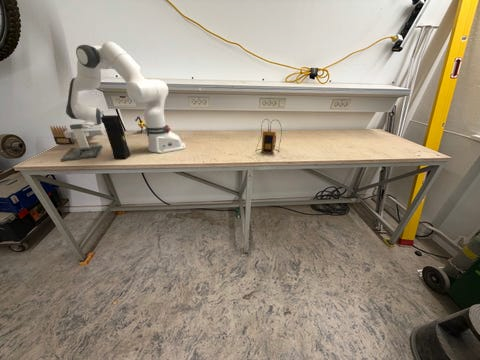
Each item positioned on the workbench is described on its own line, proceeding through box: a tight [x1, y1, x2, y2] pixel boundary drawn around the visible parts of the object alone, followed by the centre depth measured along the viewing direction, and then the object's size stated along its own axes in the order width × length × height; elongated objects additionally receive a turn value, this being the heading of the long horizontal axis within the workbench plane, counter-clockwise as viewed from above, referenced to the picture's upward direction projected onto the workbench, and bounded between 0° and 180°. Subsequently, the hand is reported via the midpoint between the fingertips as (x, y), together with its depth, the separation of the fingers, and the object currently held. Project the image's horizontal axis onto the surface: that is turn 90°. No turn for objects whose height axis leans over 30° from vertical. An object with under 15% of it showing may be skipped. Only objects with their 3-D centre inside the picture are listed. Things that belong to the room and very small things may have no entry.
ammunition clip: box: [49, 125, 75, 146], centre depth 126 cm, size 11×2×12 cm, turn 91°
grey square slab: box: [59, 144, 104, 163], centre depth 114 cm, size 16×18×2 cm
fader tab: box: [69, 123, 92, 150], centre depth 114 cm, size 5×4×14 cm
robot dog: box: [134, 115, 146, 134], centre depth 151 cm, size 6×18×13 cm, turn 176°
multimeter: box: [255, 118, 283, 154], centre depth 118 cm, size 15×10×20 cm
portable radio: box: [100, 110, 131, 160], centre depth 105 cm, size 8×6×25 cm
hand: (81, 135), depth 115 cm, fingers closed
